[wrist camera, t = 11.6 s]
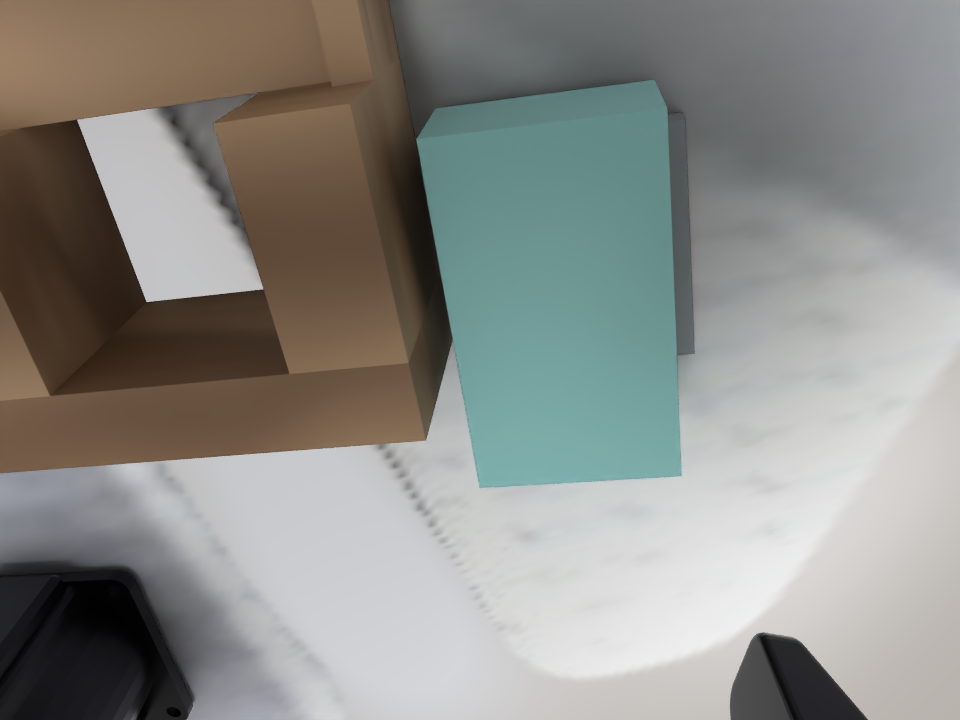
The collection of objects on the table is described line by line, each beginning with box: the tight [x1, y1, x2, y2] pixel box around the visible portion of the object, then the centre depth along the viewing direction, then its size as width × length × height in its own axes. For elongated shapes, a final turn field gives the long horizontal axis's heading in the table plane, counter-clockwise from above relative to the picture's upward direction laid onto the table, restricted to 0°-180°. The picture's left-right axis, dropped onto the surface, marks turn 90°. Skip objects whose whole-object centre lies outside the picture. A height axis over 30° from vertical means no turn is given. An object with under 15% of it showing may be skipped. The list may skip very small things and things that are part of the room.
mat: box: [667, 112, 695, 355], centre depth 19 cm, size 6×6×1 cm
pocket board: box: [0, 0, 453, 473], centre depth 16 cm, size 14×10×4 cm
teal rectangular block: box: [416, 80, 681, 488], centre depth 18 cm, size 8×4×2 cm, turn 9°
